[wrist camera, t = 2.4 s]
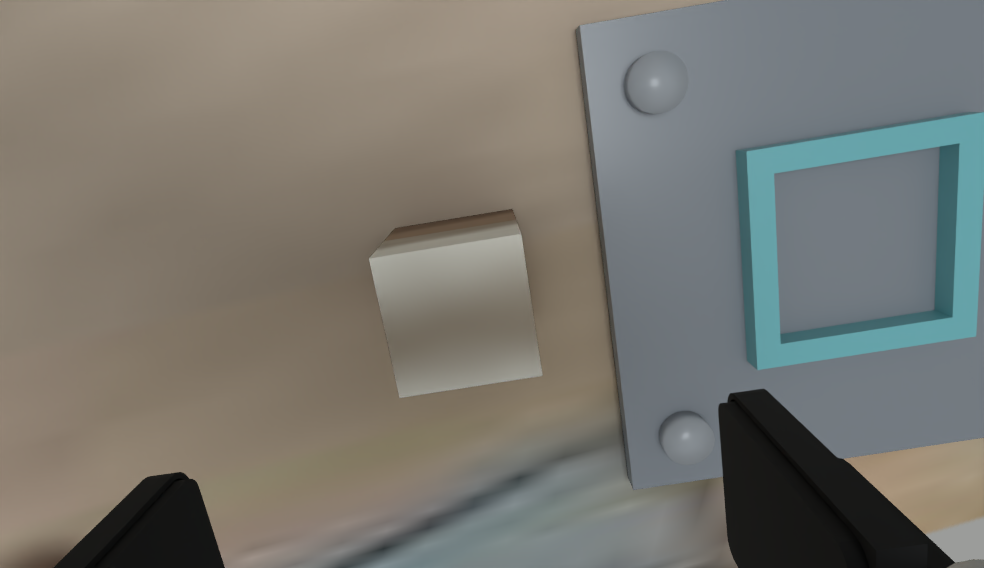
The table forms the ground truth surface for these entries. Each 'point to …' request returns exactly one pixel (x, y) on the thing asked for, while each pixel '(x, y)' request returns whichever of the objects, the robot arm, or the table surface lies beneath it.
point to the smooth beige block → (456, 304)
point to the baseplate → (791, 221)
